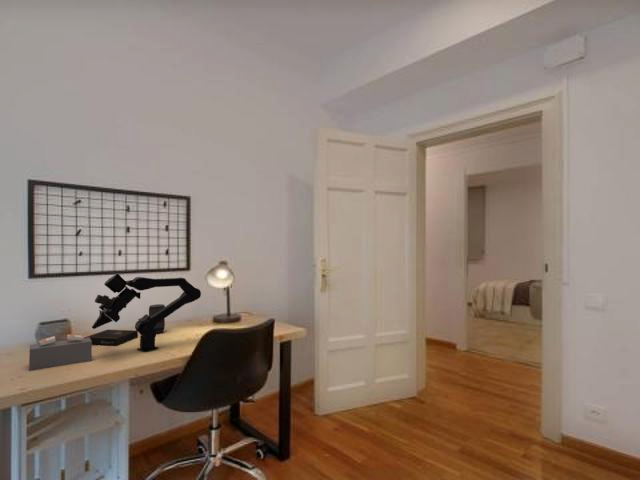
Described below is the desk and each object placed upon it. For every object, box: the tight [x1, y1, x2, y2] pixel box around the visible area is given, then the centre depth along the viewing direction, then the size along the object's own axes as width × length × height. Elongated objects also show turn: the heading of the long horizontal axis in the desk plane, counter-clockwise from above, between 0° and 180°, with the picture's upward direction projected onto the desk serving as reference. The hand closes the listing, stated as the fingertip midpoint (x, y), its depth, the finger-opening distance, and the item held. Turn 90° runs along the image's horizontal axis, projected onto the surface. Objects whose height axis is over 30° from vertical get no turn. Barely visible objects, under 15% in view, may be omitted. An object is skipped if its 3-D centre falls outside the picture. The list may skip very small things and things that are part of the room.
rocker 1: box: [38, 335, 57, 346], centre depth 143 cm, size 5×4×1 cm
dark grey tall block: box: [148, 303, 166, 335], centre depth 196 cm, size 8×8×15 cm
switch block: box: [28, 337, 93, 372], centre depth 145 cm, size 20×8×8 cm, turn 128°
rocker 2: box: [66, 334, 84, 340], centre depth 148 cm, size 5×4×1 cm
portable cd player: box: [83, 329, 139, 347], centre depth 179 cm, size 16×17×4 cm
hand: (92, 328), depth 152 cm, fingers closed
